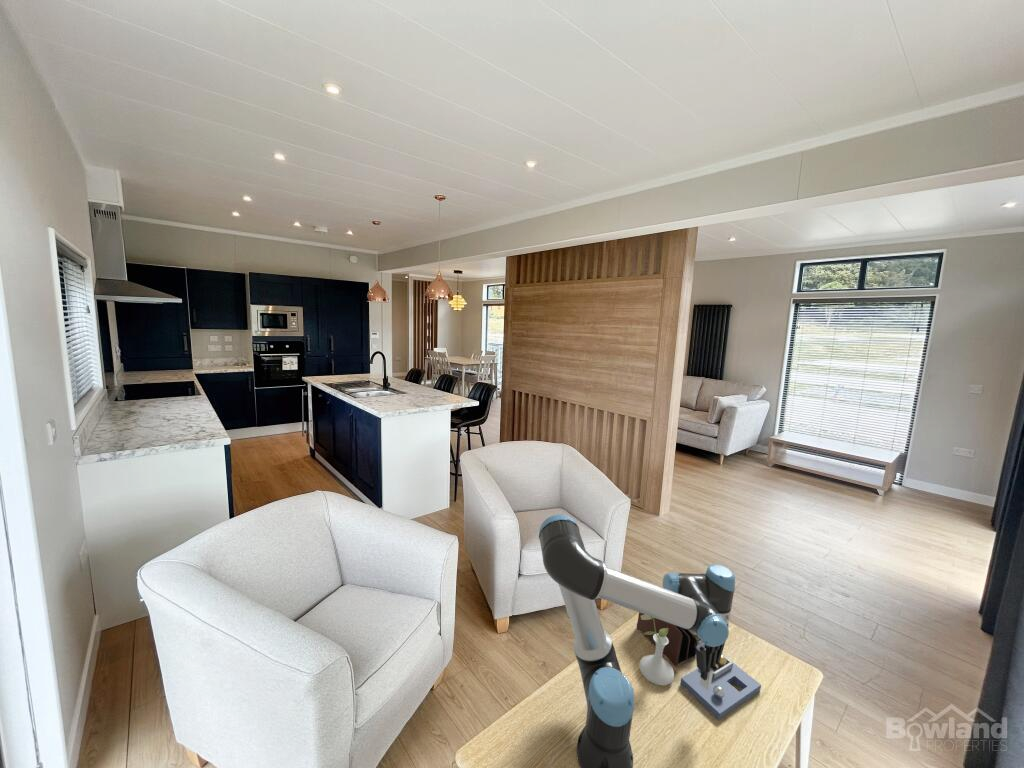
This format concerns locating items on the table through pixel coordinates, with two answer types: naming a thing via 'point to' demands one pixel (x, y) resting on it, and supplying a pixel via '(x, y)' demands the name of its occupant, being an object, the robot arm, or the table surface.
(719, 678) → the deck
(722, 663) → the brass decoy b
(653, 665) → the flower in vase
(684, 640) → the letter holder
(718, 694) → the steel ball
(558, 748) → the table surface
